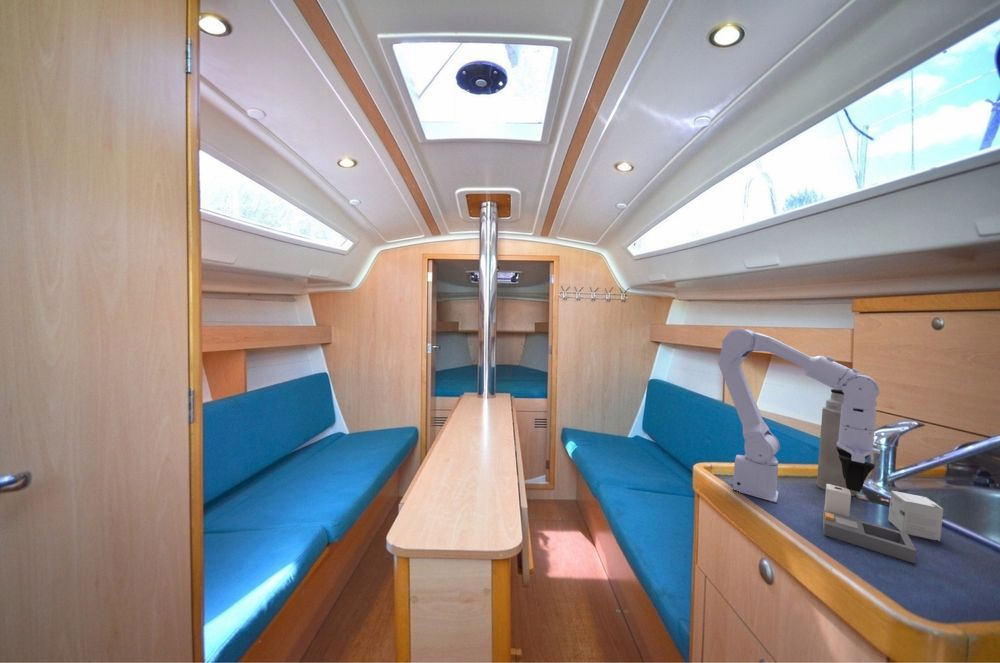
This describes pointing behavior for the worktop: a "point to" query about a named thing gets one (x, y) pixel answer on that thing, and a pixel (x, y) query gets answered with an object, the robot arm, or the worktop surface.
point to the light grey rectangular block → (837, 500)
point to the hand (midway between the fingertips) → (851, 484)
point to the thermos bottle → (831, 444)
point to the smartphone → (872, 498)
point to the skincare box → (915, 515)
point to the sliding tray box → (869, 536)
